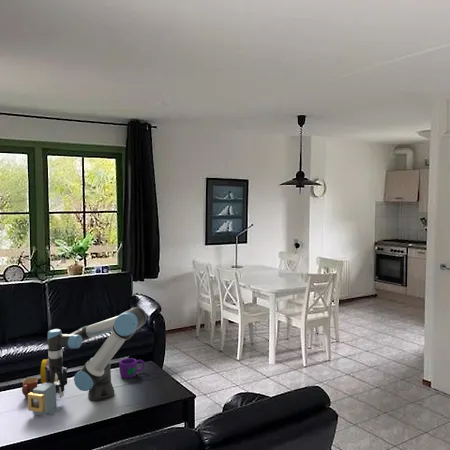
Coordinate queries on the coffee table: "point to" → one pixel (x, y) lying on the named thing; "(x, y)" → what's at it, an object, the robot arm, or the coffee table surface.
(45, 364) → the alarm clock
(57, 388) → the shaft
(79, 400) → the coffee table surface
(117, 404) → the coffee table surface
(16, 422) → the coffee table surface
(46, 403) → the pillow block
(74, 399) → the coffee table surface
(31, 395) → the frame
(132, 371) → the mug
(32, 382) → the mug
